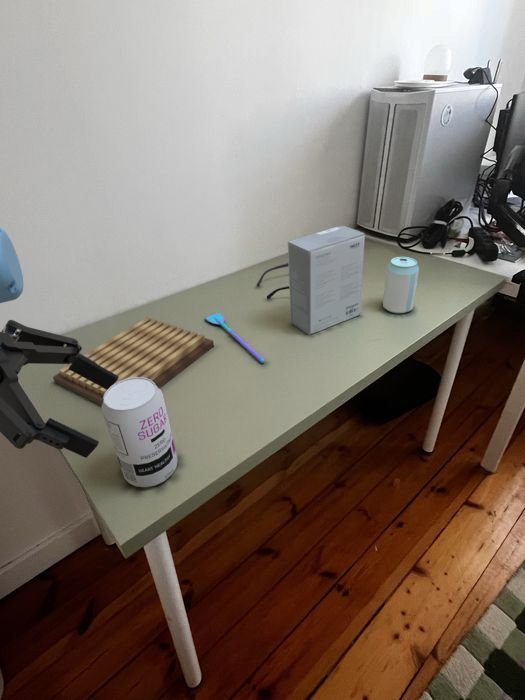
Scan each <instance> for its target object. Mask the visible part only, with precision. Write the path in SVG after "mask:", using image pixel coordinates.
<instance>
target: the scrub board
mask: <svg viewBox="0 0 525 700" xmlns="http://www.w3.org/2000/svg"><path fill="white" fill-rule="evenodd" d="M214 347H215V345H214V340H212V339H209V338H206V337H205V334H201V333H199V334H198V332H195V331H193V332H191V330H190V329H185V330H184V328H183V327H178V326H177V325H175V324H170V323H167V322H166V323H165V322H164V321H161V320H158V319H156V318H153V319H152V317H148V316H147V317H145V318H144V319H142V320H140V321H138V322H137V323H135V324H133V325H132V326H131V327H128V328H127V329H125V330H124V331H122V332H120V333H118V334H117V335H115V336H113V337H112V338H110V339H108V340H107V341H105V342H103V343H102V344H101V345H99V346H97V347H96V348H94V349H92V350H90V351H89V352H87V353H85V354H83V355H84V356H86V357H87V358H89V359H91V360H93V361H94V362H96V363H97V364H98V365H99V366H101V367H103V368H105V369H107V370H108V371H110V372H112V373H114V374H115V375H117V376H119V377H118V380H117V381H116V382H115V383H117V382H119V381H121V380H124V379H127V378H133V377H144V378H147V379H150V380H151V381H153V382H154V383H155V385H156V386H157V387H158V388H159V389H160V390H161V388H163V386H165V385H166V384H167V383H169V382H170V381H172V380H173V379H174V378H175V377H176V376H178V375H179V374H180V373H181V372H184V370H185V369H187V368H188V367H190V366H191V365H192V364H193V363H195V362H196V361H197V360H198V359H200V358H202V357H203V356H204V355H205V354H206V353H208V352H209V351H210V350H212V349H213V348H214ZM71 364H72V363H70V364H66V366H63V367H62V368H60V369H59V373H57V374H55V375H53V376H52V379H53V381H54V384H56V385H58V386H61V387H62V388H65V389H66V390H69V391H71V392H73V393H75V394H77V395H78V396H80V397H82V398H84V399H87V400H88V401H91V402H93V403H95V404H97V405H99V406H101V407H102V404H103V401H104V395H105V392H106V391H107V390H106V389H104V388H103V387H101V386H99V385H97V384H95V383H93V382H91V381H90V380H88V379H86V378H84V377H82V376H80V375H78V374H77V373H75V372H73V371H71V370H69V367H70V365H71ZM115 383H114V384H115ZM114 384H113V385H114Z"/></svg>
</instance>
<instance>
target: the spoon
mask: <svg viewBox="0 0 525 700" xmlns="http://www.w3.org/2000/svg"><path fill="white" fill-rule="evenodd" d="M204 319H205V320H206V321H207V322H209V323H211V324H213V325H219V326H221V327H222V328H223V329H224V330H225V331H226V332H228V334H229V335H230V336H232V338H234V340H236V341H237V342H238V343H239V344H240V345H241V346H242V347H243V348H245V350H247V352H249V353H250V354H251V355H252V356H253V357H254V358H255V359H256V360H257V361H259V363H260V364H264V363H265V362H266V360H265V359H264V358H263V356H261V355H260V354H259V353H258V352H257V351H256V350H254V348H252V347H251V346H250V345H249V344H248V343H247V342H246V341H245V340H243V338H241V337H240V336H239V335H238V334H236V332H234V331H233V330H232V329H231V328H230V327H228V325H227V324H226V323H225V316H224V315H223V314H222V313H221V312H217V313H216V312H215V313H213V314H210V315H207V316H205V317H204Z"/></svg>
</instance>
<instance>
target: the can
mask: <svg viewBox="0 0 525 700" xmlns="http://www.w3.org/2000/svg"><path fill="white" fill-rule="evenodd" d="M419 273H420V268H419V266H418V261H417V260H416V259H415V258H414V257H413V258H412V257H408V256H396V257H393V258H392V259H390V262H389V264H388V265H387V266H386V273H385V281H384V282H385V283H384V289H383V300H382V306H383V308H384V309H385V310H386V311H388V312H390V313H393V314H399V315H400V314H405V313H408V312H410V311H412V310H413V309H414V304H415V298H416V291H417V285H418V279H419Z"/></svg>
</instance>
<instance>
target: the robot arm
mask: <svg viewBox="0 0 525 700" xmlns="http://www.w3.org/2000/svg"><path fill="white" fill-rule="evenodd" d="M23 291H24V276H23V273H22V267H21V263H20V260H19V258H18V254H17V251H16V249H15V246H14V244H13V242H12V240H11V238H10V237H9V235H8V233H7V232H6V231H5V229H3V228H2V227H0V304H3V303H7V302H12V301H15V300H18V298H19V297H20V296H21V295H22V294H23ZM82 350H83V347H82V346H81V344H79V341H78V340H77V339H75V338H73V337H69V336H65V335H61V334H57V333H53V332H50V331H45V330H42V329H39V328H38V329H37V328H33V327H31V326H27V325H24V324H22V323H20V322H18V321H16V320H14V319H9V320H8V321H7V322H6V324H5V325H4V326H3V328H2V330H1V331H0V433H1V434H2V435H3V437H5V438H6V439H7V440H8V441H9V443H11V445H13V447H14V448H16V449H19V450H21V449H24V448H25V447H26V445H28V444H31V443H32V442H33V441H39V442H41V443H43V444H45V445H48V446H49V447H53V448H54V449H56V450H63V449H65V450H67V451H70V452H72V453H74V454H76V455H79V456H81V457H83V458H85V459H87V458H88V457H89V456H90V455H91V454H92V453H93V451H95V450H96V448H97V447H98V446H99V442H100V441H99V440H97V439H94V438H93V437H91V436H89V435H87V434H84V433H83V432H80V431H78V430H76V429H74V428H72V427H70V426H68V425H66V424H65V423H64V424H63V423H61V422H59V421H57V420H55V419H53V418H51V417H49V418H48V419H47V421H46V422H45V421H44V419H43V418H42V416H41V415H40V413H39V412H38V410H37V408H36V407H35V406H34V404H33V403H32V401H31V399H30V397H29V396H28V395H27V394H26V392H25V390H24V389H23V387H22V385H21V384H20V383H19V373H20V372H21V370H22V368H23V367H24V366H26V365H28V364H35V365H36V364H42V365H46V364H47V365H69V364H70V363H72V364H71V365H70V367H69V370H71V371H73V372H75V373H77V374H78V375H80V376H82V377H84V378H86V379H88V380H90V381H91V382H93V383H95V384H97V385H99V386H101V387H103V388H104V389H106V390H108V389H109V388H110V387H111V386H112V385H113V384H114V383H115V382H116V381H117V380H118V377H119V376H117V375H115V374H114V373H112V372H110V371H108V370H107V369H105V368H103V367H101V366H99V365H98V364H97V363H96V362H94V361H93V360H91V359H89V358H87V357H86V356H84V355H85V354H82V353H81V351H82Z"/></svg>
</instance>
